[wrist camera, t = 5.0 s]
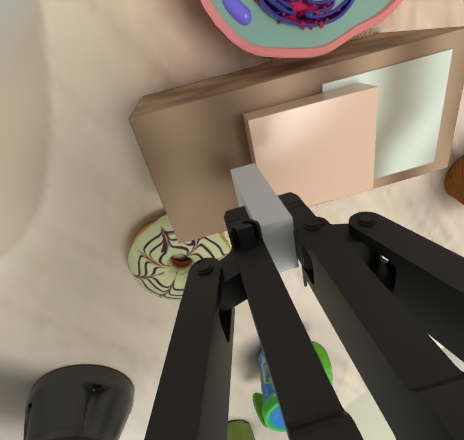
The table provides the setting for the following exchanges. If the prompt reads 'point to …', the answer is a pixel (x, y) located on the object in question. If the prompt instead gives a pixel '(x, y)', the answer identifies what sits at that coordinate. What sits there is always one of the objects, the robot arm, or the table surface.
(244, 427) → the plant pot
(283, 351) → the robot arm
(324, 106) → the tile
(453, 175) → the disposable coffee cup
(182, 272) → the decorated donut
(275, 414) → the snack cup
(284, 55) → the cell model
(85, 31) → the table surface
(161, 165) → the block
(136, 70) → the table surface
